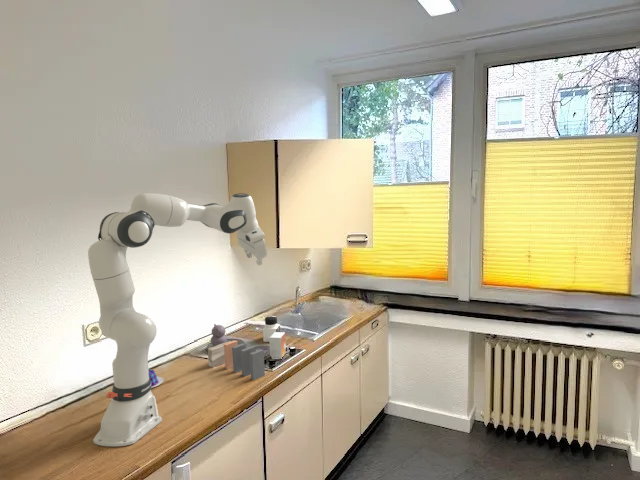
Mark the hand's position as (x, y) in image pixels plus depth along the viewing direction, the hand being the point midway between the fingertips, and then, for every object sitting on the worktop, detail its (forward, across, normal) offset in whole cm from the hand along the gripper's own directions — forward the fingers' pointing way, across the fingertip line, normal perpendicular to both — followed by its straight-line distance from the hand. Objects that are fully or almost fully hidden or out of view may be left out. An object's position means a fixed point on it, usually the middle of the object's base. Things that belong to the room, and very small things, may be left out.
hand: (254, 260), depth 189 cm
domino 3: (+42, +18, -16) cm, 48 cm away
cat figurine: (+50, -22, -18) cm, 58 cm away
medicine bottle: (+56, -17, +8) cm, 59 cm away
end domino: (+44, +1, -21) cm, 49 cm away
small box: (+49, +4, 0) cm, 49 cm away
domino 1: (+44, +6, -19) cm, 48 cm away
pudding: (+38, -5, -54) cm, 66 cm away
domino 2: (+43, +12, -18) cm, 48 cm away
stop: (+45, -6, -23) cm, 51 cm away
